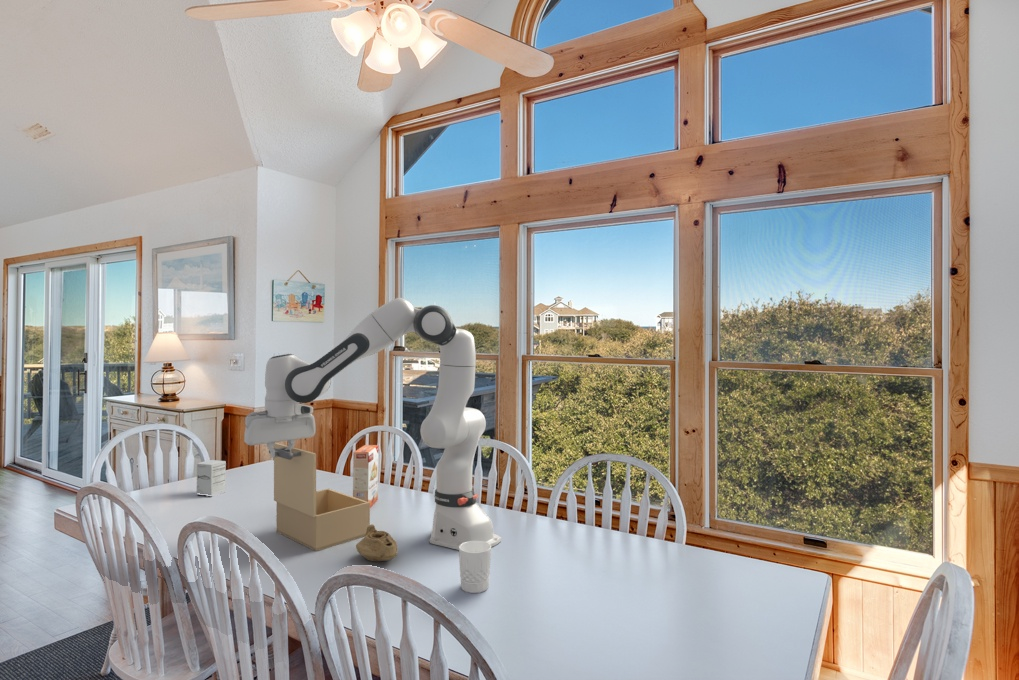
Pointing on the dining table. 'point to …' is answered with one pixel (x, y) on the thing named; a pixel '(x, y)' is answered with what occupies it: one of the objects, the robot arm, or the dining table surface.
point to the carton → (325, 520)
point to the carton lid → (295, 479)
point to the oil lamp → (377, 545)
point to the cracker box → (366, 473)
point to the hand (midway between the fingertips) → (281, 456)
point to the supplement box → (211, 477)
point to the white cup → (474, 566)
